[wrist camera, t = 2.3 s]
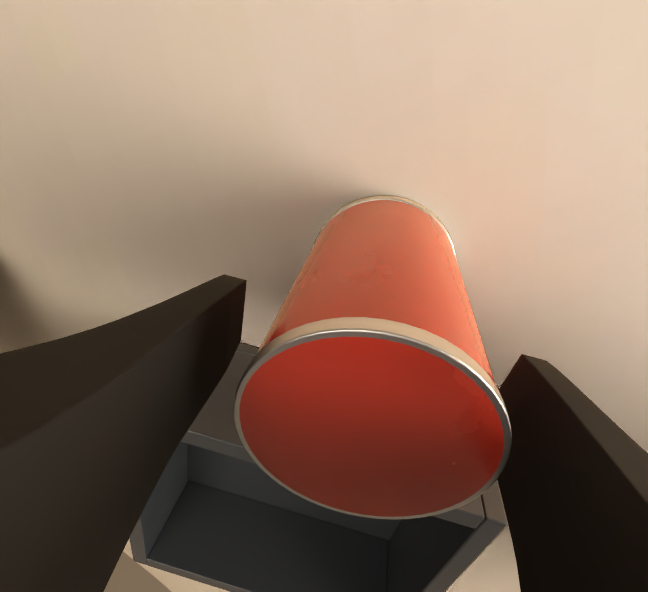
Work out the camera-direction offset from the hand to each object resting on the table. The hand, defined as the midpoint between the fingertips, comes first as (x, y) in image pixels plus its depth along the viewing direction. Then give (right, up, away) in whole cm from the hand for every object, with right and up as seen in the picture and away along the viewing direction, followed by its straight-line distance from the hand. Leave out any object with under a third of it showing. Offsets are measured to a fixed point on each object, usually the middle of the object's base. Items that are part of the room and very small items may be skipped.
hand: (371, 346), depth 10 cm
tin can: (+1, +2, +4) cm, 5 cm away
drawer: (-2, -7, +11) cm, 13 cm away
